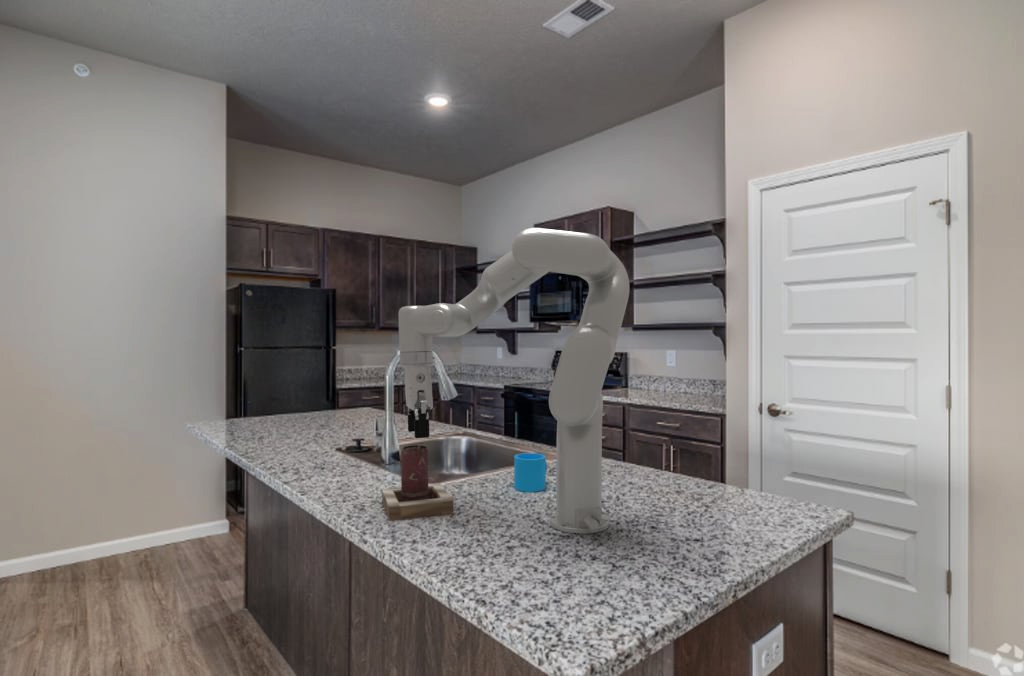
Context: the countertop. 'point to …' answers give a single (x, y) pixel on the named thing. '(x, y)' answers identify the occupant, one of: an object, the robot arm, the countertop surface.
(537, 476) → the mug
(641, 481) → the countertop surface
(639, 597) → the countertop surface
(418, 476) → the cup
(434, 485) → the socket block
